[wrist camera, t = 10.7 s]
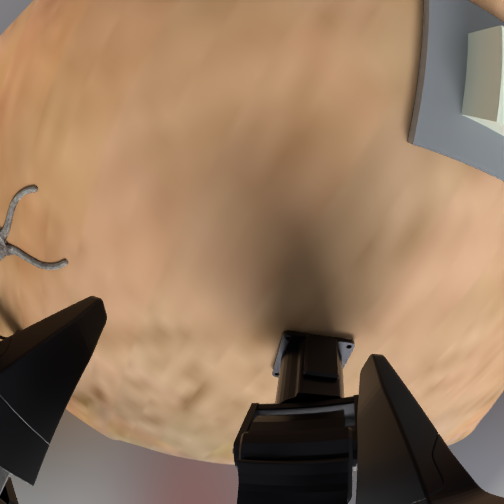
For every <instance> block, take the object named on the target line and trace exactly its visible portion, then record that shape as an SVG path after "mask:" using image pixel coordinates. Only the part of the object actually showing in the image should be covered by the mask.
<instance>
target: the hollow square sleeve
mask: <svg viewBox="0 0 504 504" xmlns="http://www.w3.org/2000/svg"><path fill="white" fill-rule="evenodd" d="M461 115H463V116H466V117H468V118H470V119H472V120H474V121H476V122H478V123H480V124H482V125H484V126H486V127H488V128H490V129H492V130H493V131H495V132H497V133H499V134H501V135H502V136H504V26H502V25H500V26H496V27H492V28H487V29H483V30H480V31H476V32H472V33H469V34H468V55H467V70H466V81H465V90H464V98H463V106H462V112H461Z"/></svg>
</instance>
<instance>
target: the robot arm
mask: <svg viewBox="0 0 504 504" xmlns="http://www.w3.org/2000/svg"><path fill="white" fill-rule="evenodd" d="M106 320H107V315H106V311H105V307H104V304H103V301H102V299H101V298H98V297H95V296H90V297H88V298H86V299H84V300H81V301H79V302H77V303H75V304H73V305H71V306H69V307H67V308H65V309H63V310H61V311H59V312H57V313H55V314H53V315H51V316H49V317H47V318H45V319H43V320H41V321H39V322H37V323H35V324H33V325H31V326H29V327H27V328H25V329H23V330H21V331H20V332H18V333H16V334H14V335H13V336H10V337H8V338H6V339H4V340H2V341H0V504H18V501H17V498H16V494H15V491H14V488H13V485H12V481H11V478H10V477H9V475H10V473H11V474H13V475H14V476H16V477H18V478H20V479H21V480H23V481H25V482H27V483H28V484H30V485H32V486H33V485H34V483H35V481H36V478H37V475H38V472H39V470H40V467H41V465H42V462H43V459H44V457H45V454H46V452H47V450H48V447H49V444H50V442H51V440H52V437H53V435H54V433H55V430H56V428H57V426H58V423H59V421H60V419H61V417H62V415H63V413H64V410H65V408H66V406H67V404H68V402H69V400H70V398H71V396H72V394H73V392H74V390H75V388H76V386H77V384H78V382H79V380H80V378H81V376H82V374H83V372H84V370H85V368H86V366H87V364H88V362H89V360H90V358H91V356H92V354H93V352H94V349H95V347H96V345H97V342H98V340H99V337H100V335H101V333H102V330H103V328H104V326H105V324H106ZM287 336H290V337H287ZM354 346H355V345H354V341H353V340H348V339H341V338H333V337H326V336H319V335H312V334H306V333H300V332H293V331H285V332H284V333H283V336H282V339H281V343H280V347H279V350H278V354H277V357H276V361H275V365H274V368H273V373H272V375H273V376H275V377H279V380H278V387H277V394H276V401H275V404H259V403H252V404H251V407H250V409H249V411H248V412H247V415H246V417H245V419H244V422H243V424H242V426H241V428H240V430H239V433H238V435H237V437H236V439H235V441H234V448H233V454H234V462H235V466H236V468H237V470H238V476H239V487H238V498H237V504H348V502H349V501H350V500H351V497H352V485H353V471H355V470H356V471H357V490H356V504H504V498H503V497H499V496H496V495H493V494H490V493H488V492H485V491H484V490H483V489H481V488H480V487H479V486H478V485H477V484H476V482H475V481H474V480H473V479H472V477H471V476H470V475H469V474H468V472H467V471H466V470H465V469H464V467H463V466H462V465H461V464H460V462H459V461H458V460H457V459H456V457H455V456H454V455H453V453H452V452H451V451H450V449H449V448H448V446H447V445H446V443H445V442H444V440H443V439H442V437H441V436H440V434H438V432H437V430H436V429H435V427H434V426H433V424H432V423H431V421H430V420H429V418H428V417H427V415H426V414H425V412H424V411H423V410H422V408H421V407H420V405H419V404H418V402H417V401H416V400H415V398H414V397H413V395H412V394H411V392H410V391H409V390H408V388H407V387H406V385H405V384H404V383H403V381H402V380H401V378H400V377H399V376H398V374H397V373H396V372H395V370H394V369H393V367H392V366H391V365H390V363H389V362H388V361H387V359H386V358H385V357H384V356H383V355H379V354H372V355H370V356H369V358H368V360H367V361H366V363H365V365H364V366H363V368H362V370H361V373H360V385H359V395H353V397H346V398H344V385H343V367H344V366H345V364H346V362H347V360H348V358H349V356H350V355H351V353H352V351H353V349H354Z"/></svg>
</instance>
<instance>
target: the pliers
mask: <svg viewBox="0 0 504 504" xmlns="http://www.w3.org/2000/svg"><path fill="white" fill-rule="evenodd" d="M37 191H38V187H37V186H31V187H27V188H25V189H23V190H21V191H20V192H19V193H18V194H17V195H16V196H15V197H14V198H13V200H12V202H11V204H10V207H9V210H8V214H7V217H6V221H5V224H4V227H3V228H2V229H1V230H0V260H2V259H3V258H4V257H5V256H7V255H17V256H19V257H21V258H22V259H24V260H26V261H28V262H29V263H31V264H33V265H35V266H37V267H39V268H42V269H46V270H56V269H60V268H62V267H65V266H66V265H67V264H68V261H67V260H63V261H61V262H59V263H55V264H47V263H43V262H40V261H38V260H36V259H34V258H33V257H31V256H29V255H28V254H26V253H25V252H23V251H22V250H20V249H19V248H17V247H15V246H12V245H10V244H8V243H7V241H6V238H7V236H8V234H9V231H10V228H11V223H12V218H13V214H14V210H15V207H16V205H17V203H18V201H19V200H20V199H21V198H22V197H23V196H24V195H26V194H28V193H33V192H37Z"/></svg>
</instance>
